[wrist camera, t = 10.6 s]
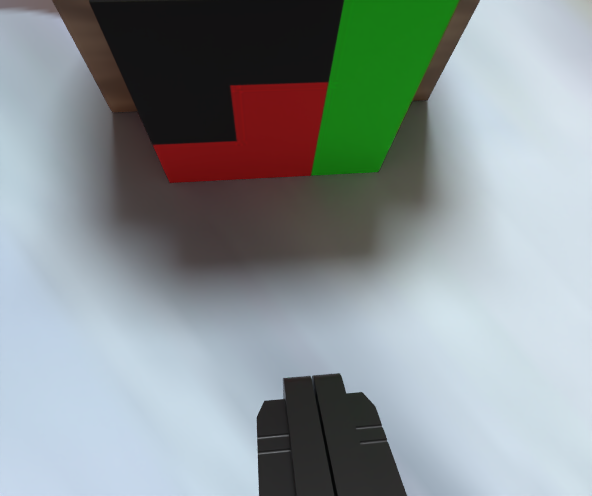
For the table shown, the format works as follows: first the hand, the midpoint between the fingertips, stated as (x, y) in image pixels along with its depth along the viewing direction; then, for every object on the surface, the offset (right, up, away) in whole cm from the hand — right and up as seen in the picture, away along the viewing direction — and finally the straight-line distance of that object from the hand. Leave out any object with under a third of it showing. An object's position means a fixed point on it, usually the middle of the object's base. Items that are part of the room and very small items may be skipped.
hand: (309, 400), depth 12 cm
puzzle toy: (-2, +12, +11) cm, 17 cm away
